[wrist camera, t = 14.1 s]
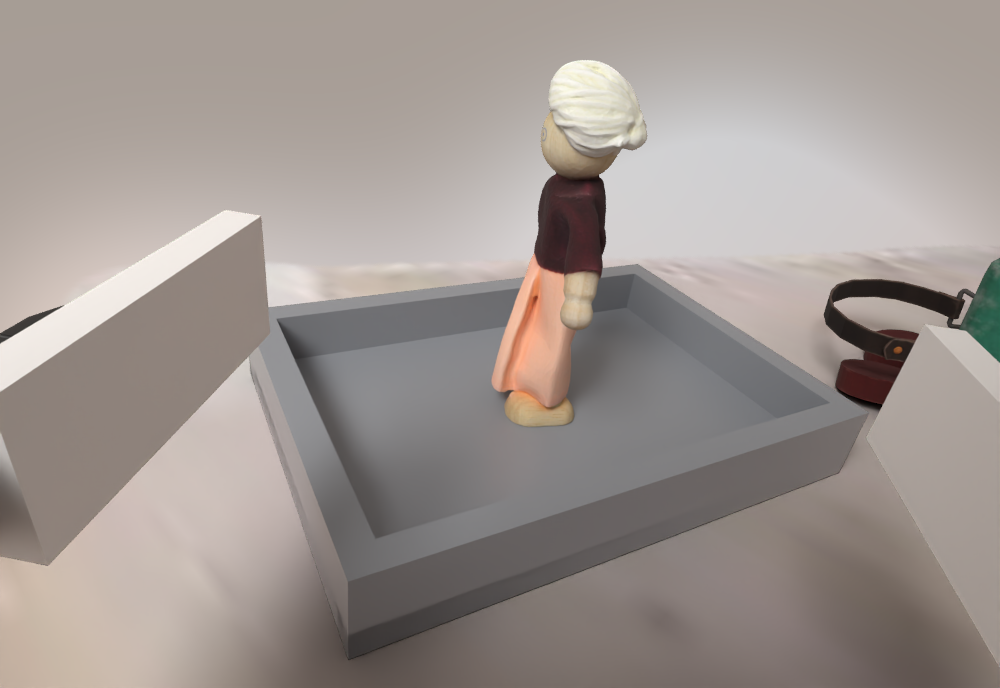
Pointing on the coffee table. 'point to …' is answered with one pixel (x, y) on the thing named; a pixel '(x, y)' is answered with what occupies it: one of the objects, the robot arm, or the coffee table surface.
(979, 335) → the binoculars
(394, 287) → the coffee table surface
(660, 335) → the tray
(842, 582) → the coffee table surface
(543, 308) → the grandmother figurine
